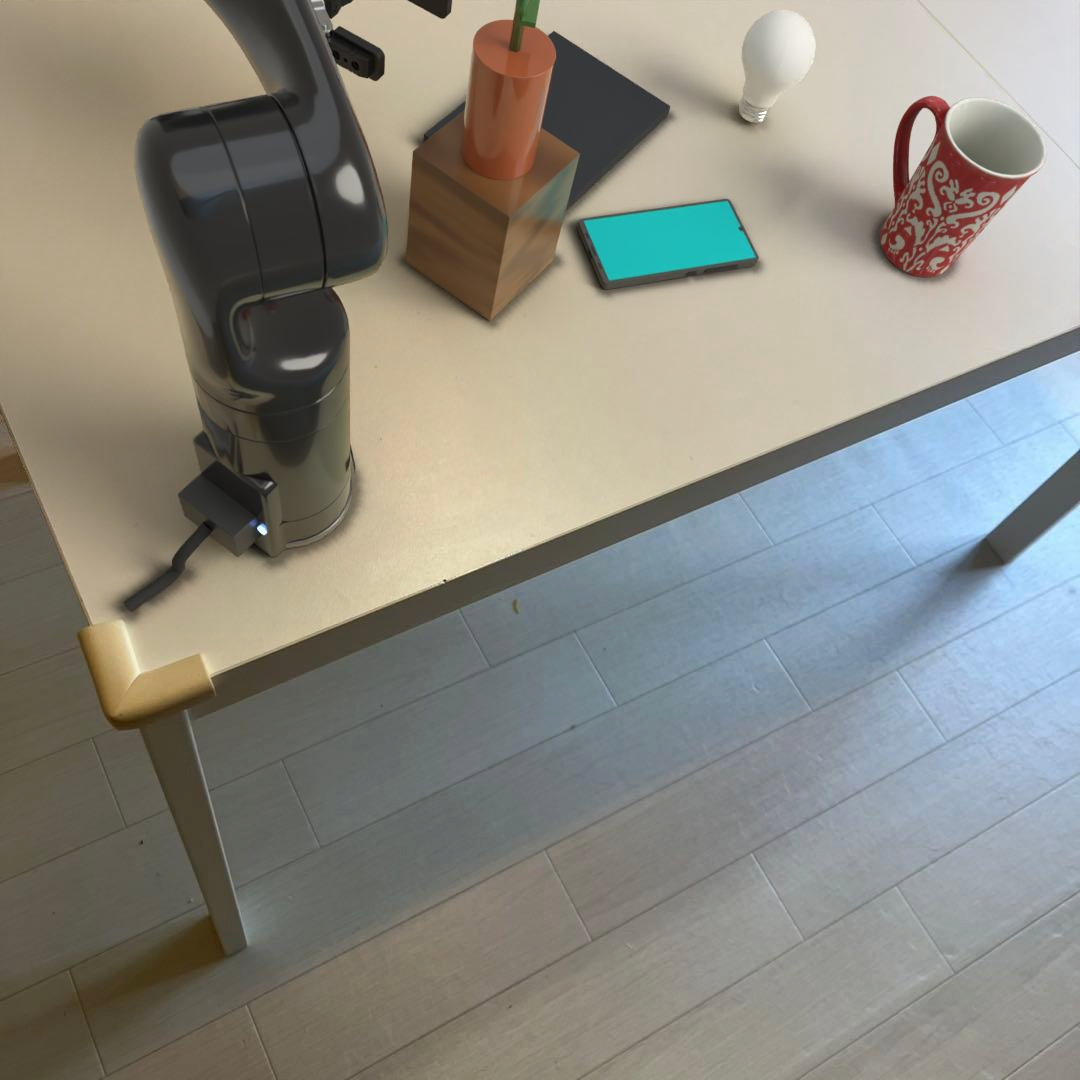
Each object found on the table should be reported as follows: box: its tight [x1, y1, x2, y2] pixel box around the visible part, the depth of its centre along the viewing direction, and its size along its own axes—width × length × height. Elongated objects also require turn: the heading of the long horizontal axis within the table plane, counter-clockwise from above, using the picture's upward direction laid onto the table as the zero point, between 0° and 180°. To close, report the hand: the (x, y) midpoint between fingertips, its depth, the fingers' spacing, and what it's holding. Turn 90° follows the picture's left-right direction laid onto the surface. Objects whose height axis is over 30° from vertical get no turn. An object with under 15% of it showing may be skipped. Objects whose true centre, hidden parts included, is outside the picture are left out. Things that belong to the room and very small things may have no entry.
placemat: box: [422, 30, 671, 213], centre depth 94 cm, size 20×14×1 cm
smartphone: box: [576, 198, 759, 290], centre depth 90 cm, size 7×1×15 cm
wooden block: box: [405, 110, 580, 322], centre depth 81 cm, size 9×9×12 cm
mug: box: [879, 95, 1047, 278], centre depth 91 cm, size 13×9×14 cm
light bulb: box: [738, 9, 817, 124], centre depth 95 cm, size 7×7×11 cm
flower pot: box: [461, 0, 556, 180], centre depth 67 cm, size 6×6×20 cm
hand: (416, 35), depth 72 cm, fingers open, 8 cm apart
